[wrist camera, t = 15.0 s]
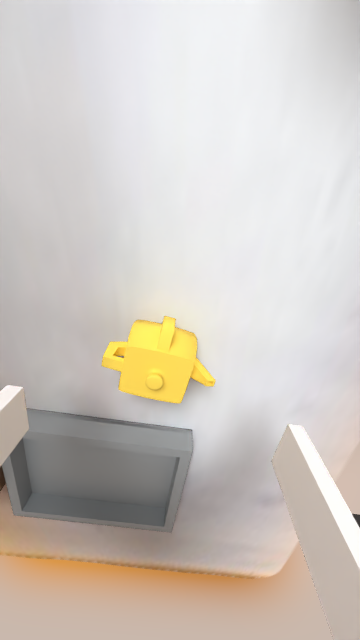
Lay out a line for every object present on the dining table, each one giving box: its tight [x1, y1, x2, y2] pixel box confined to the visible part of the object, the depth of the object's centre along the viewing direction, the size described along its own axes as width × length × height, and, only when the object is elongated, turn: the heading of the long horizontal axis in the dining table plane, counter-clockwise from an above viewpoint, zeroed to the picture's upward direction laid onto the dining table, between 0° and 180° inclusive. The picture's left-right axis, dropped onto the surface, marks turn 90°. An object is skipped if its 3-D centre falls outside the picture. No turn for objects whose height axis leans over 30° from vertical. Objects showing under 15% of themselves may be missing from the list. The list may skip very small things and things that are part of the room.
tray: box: [2, 408, 193, 532], centre depth 25 cm, size 18×14×2 cm
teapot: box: [102, 316, 215, 403], centre depth 17 cm, size 8×6×5 cm
